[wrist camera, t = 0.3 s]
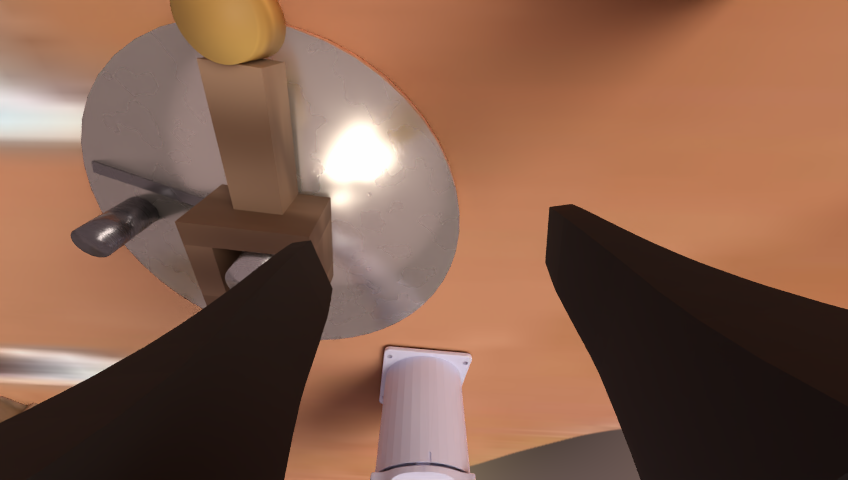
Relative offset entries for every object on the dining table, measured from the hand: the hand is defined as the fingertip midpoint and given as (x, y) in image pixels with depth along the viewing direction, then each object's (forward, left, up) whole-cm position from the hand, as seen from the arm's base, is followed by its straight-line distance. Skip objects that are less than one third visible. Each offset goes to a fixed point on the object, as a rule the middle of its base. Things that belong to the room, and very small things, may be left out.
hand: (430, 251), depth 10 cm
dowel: (-6, +17, -10) cm, 20 cm away
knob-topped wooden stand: (-1, +8, -8) cm, 12 cm away
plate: (-6, +8, -10) cm, 14 cm away
